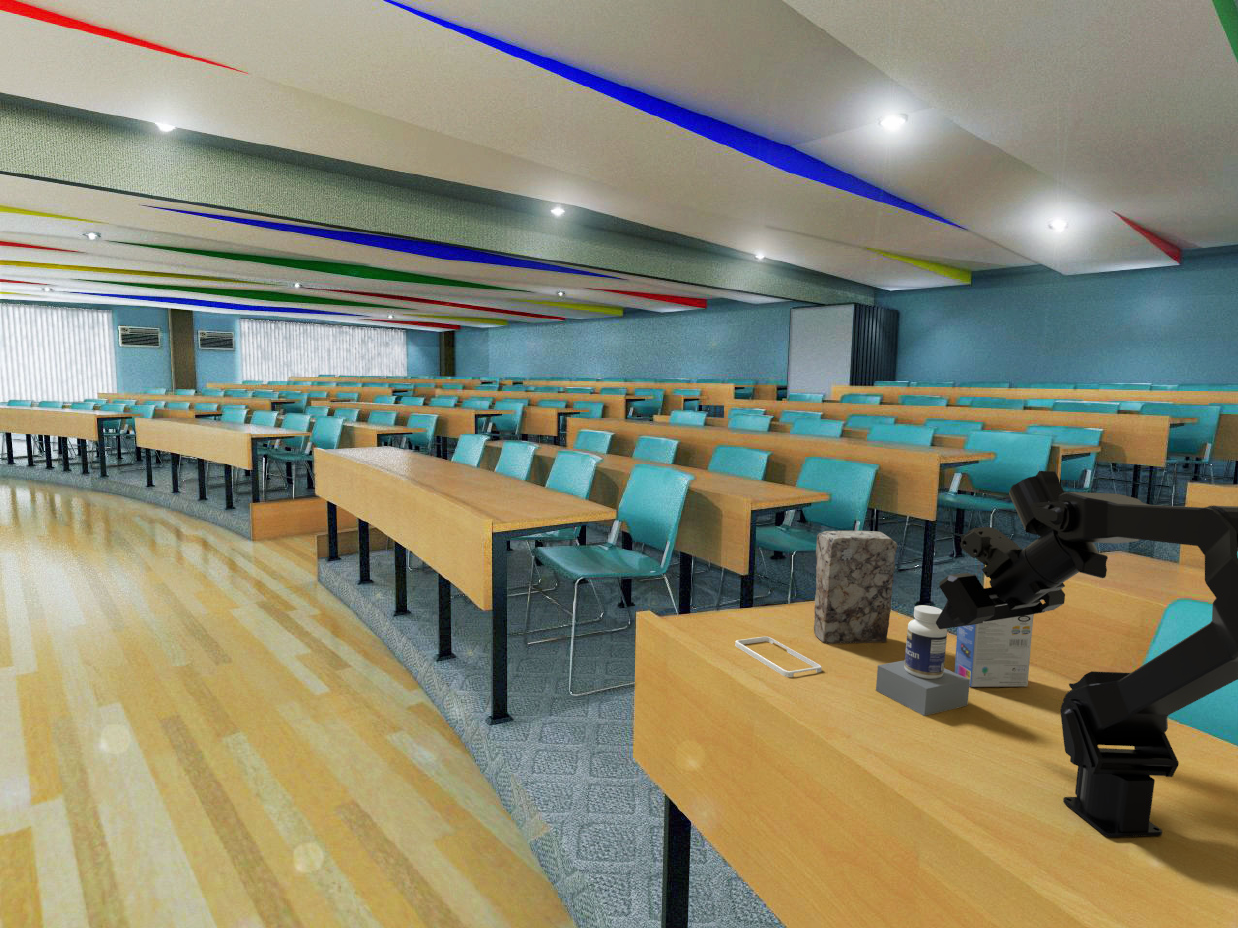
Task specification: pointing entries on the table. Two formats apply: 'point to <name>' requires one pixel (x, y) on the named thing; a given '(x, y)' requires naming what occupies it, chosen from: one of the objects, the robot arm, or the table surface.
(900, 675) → the slate block
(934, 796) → the table surface
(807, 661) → the phone case
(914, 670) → the pill bottle
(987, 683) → the ink cartridge box
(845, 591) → the stone block
